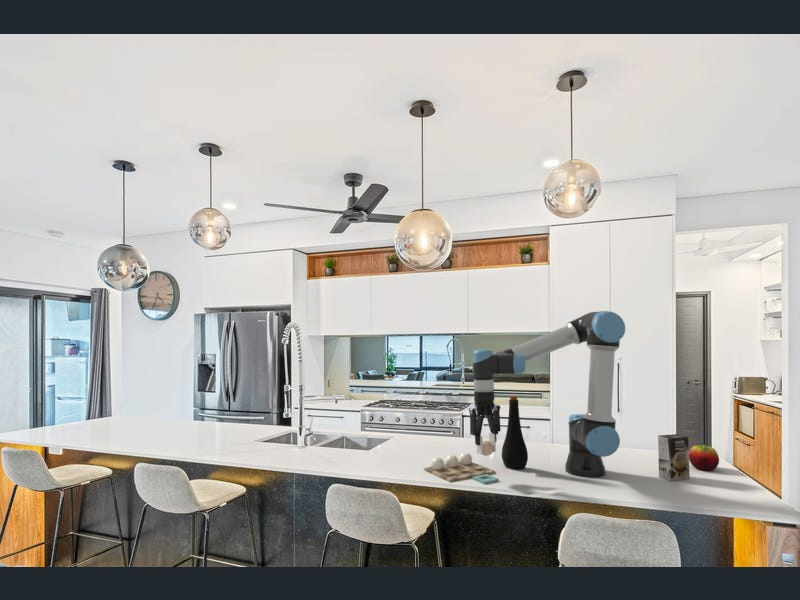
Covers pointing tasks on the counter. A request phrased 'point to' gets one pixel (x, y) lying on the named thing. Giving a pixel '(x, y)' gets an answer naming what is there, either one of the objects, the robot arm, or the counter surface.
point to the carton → (460, 472)
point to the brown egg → (487, 448)
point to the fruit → (703, 457)
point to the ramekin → (481, 477)
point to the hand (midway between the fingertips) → (486, 452)
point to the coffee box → (673, 457)
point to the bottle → (514, 439)
